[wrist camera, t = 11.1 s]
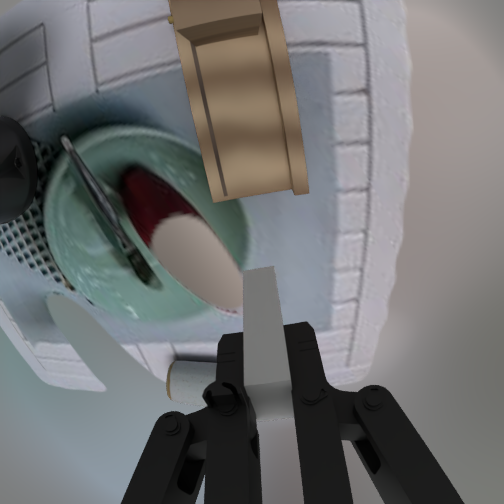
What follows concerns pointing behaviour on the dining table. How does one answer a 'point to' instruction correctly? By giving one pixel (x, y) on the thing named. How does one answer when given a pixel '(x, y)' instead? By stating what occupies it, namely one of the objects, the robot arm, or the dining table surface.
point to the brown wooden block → (215, 19)
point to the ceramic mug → (189, 381)
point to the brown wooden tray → (246, 111)
